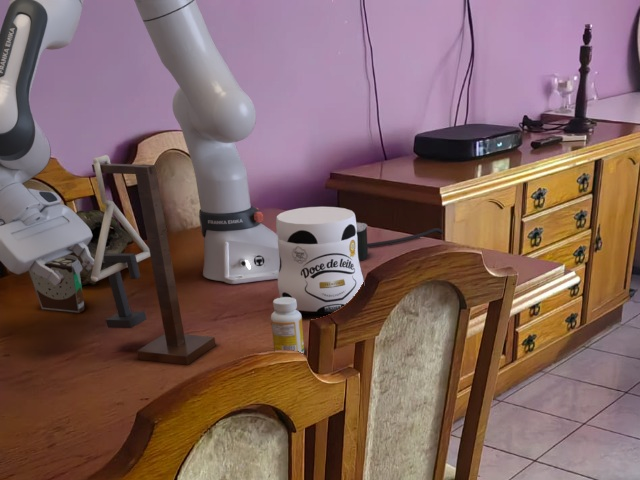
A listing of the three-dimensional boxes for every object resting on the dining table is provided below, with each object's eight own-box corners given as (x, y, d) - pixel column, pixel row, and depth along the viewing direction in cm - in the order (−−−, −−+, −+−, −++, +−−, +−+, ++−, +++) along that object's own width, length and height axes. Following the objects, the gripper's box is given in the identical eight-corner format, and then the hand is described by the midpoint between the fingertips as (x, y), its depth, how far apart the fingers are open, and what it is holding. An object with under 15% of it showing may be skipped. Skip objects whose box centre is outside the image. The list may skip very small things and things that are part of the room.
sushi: (364, 262, 199) (362, 227, 195) (330, 261, 200) (328, 226, 196) (371, 253, 206) (370, 219, 201) (338, 252, 207) (336, 218, 202)
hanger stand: (104, 364, 147) (58, 165, 129) (158, 332, 161) (123, 147, 143) (176, 372, 143) (139, 168, 125) (225, 338, 157) (198, 150, 139)
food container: (103, 304, 176) (93, 255, 170) (85, 313, 171) (73, 263, 166) (55, 299, 179) (43, 251, 174) (35, 308, 175) (22, 259, 169)
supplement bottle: (289, 361, 146) (283, 307, 141) (268, 354, 149) (262, 301, 144) (311, 352, 150) (306, 299, 144) (290, 346, 153) (285, 293, 147)
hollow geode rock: (122, 277, 209) (73, 231, 205) (151, 240, 204) (101, 193, 199) (70, 309, 186) (13, 258, 181) (101, 268, 180) (43, 215, 176)
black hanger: (107, 327, 150) (88, 258, 144) (123, 319, 154) (105, 251, 148) (141, 328, 148) (123, 258, 141) (157, 319, 152) (140, 250, 145)
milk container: (332, 326, 161) (325, 229, 151) (262, 313, 169) (251, 219, 159) (381, 301, 173) (377, 210, 163) (314, 290, 181) (307, 202, 171)
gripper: (-19, 215, 137) (46, 279, 139) (61, 190, 153) (118, 248, 155) (-33, 241, 140) (31, 303, 143) (47, 214, 156) (103, 271, 159)
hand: (77, 274), depth 149 cm, fingers open, 8 cm apart
